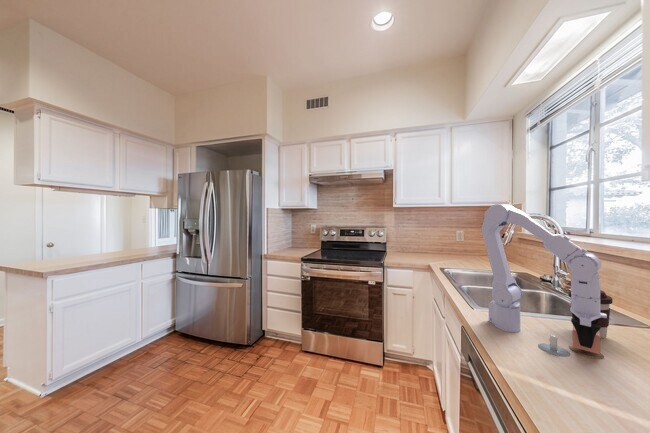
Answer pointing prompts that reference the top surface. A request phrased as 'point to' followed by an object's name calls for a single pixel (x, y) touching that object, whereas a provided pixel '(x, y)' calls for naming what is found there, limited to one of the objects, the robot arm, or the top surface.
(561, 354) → the stand
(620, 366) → the top surface
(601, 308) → the coffee cup
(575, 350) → the hub
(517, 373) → the top surface
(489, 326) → the top surface
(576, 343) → the salmon square tube
